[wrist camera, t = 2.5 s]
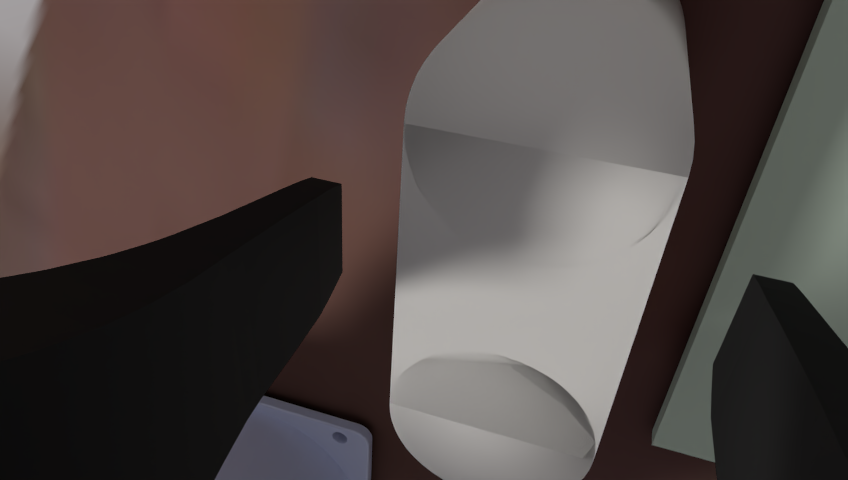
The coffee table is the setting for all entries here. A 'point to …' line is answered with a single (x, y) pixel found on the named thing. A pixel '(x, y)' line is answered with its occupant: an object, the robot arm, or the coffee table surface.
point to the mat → (778, 228)
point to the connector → (533, 228)
